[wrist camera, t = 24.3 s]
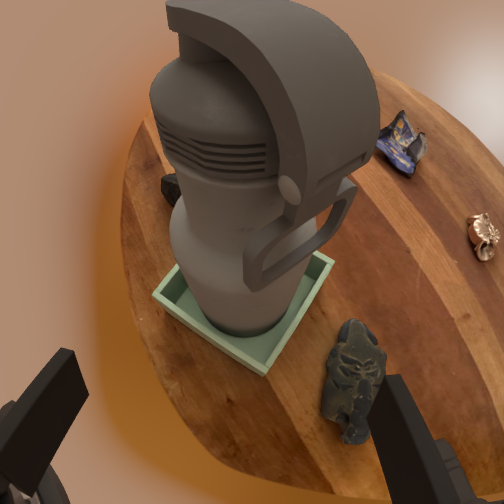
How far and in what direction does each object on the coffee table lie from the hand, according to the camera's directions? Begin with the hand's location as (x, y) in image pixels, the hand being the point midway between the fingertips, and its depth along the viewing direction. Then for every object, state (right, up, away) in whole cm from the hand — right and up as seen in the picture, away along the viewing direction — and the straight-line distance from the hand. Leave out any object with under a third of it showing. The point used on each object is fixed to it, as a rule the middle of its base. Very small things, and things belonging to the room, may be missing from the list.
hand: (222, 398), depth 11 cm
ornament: (+37, +8, +26) cm, 46 cm away
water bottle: (+1, +1, +21) cm, 21 cm away
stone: (+11, -8, +18) cm, 22 cm away
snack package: (+26, +23, +33) cm, 48 cm away
